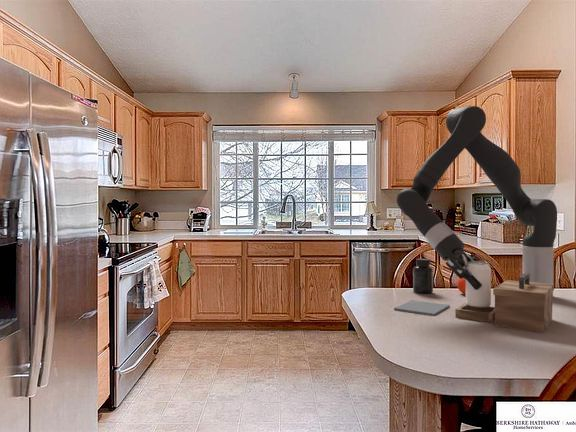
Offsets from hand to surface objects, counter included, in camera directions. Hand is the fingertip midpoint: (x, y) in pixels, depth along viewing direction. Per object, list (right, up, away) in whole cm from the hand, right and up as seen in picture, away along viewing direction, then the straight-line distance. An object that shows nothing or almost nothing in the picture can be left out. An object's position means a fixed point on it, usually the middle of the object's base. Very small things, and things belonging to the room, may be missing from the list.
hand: (484, 286), depth 122 cm
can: (-1, -6, +1) cm, 6 cm away
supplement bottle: (-6, -8, +36) cm, 38 cm away
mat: (-14, -8, +11) cm, 20 cm away
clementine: (+9, -8, +32) cm, 35 cm away
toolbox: (+4, -9, -3) cm, 10 cm away
